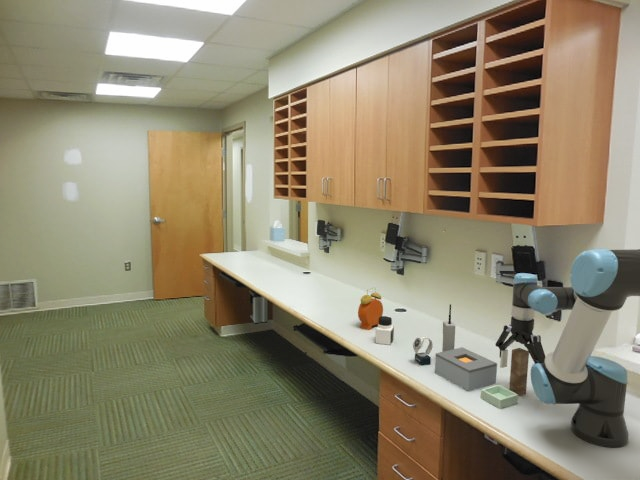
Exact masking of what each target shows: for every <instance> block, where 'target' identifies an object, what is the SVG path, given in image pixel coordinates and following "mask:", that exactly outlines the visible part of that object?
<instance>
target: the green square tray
mask: <svg viewBox="0 0 640 480" xmlns="http://www.w3.org/2000/svg"><path fill="white" fill-rule="evenodd" d="M480 399H482V400H483V401H486V402H487V403H489V404H491V405H493V406H494V407H496V408H498V409H503V408H506V407H510V406H513V405H516V404H518V402H519V396H518V394H516V393H514V392H512V391H510V390H509V389H508V388H506V387H504V386H502V385H501V384H496V385H495V384H494V385H493V386H492V385H491V386H488V387H485V388H481V390H480Z"/></svg>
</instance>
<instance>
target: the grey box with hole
mask: <svg viewBox="0 0 640 480" xmlns="http://www.w3.org/2000/svg"><path fill="white" fill-rule="evenodd" d="M464 357H466V358H468V359H470V360H472V361H471V362H467V363H465V362H463V361H461V360H459V359H460V358H464ZM434 358H435V359H434V360H435V362H434V373H435V374H436V375H439V376H440V377H442V378H443V379H445V380H447V381H449V382H451V383H453V384H454V385H457V386H458V387H460V388H462V389H463V390H466V391H467V392H471V391H474V390H475V391H476V390H477V389H483V388H484V387H485V388H486V387H490V386H492V385H495V384H496V385H497V375H498V374H497V372H498V371H497V369H498V362H496V361H493V360H491V359H489V358H487V357H484V356H482V355H480V354H477V353H475V352H473V351H471V350H469V349H467V348H465V347H463V346H462V347H458V348H454V349H453V350H448V351H444V352H442V351H439V352H436V353H435V357H434Z"/></svg>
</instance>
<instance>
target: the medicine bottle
mask: <svg viewBox="0 0 640 480" xmlns="http://www.w3.org/2000/svg"><path fill="white" fill-rule="evenodd" d="M392 320H393V319H392V317H391V316H390V315H389V316H388V315H382V316H381V317H379V324H378V326H376V328H375V344H379V345H388V346H391V345H392V343H393V341H394V337H395V336H394V335H395V333H394V332H395V331H394V330H395V326H394V325H393V324H392V322H393V321H392Z"/></svg>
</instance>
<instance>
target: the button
mask: <svg viewBox="0 0 640 480" xmlns="http://www.w3.org/2000/svg"><path fill="white" fill-rule="evenodd" d="M459 360H461V361H463V362H465V363H467V362H471V361H472V360H470V359H468V358H466V357H464V358H460V359H459Z"/></svg>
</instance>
